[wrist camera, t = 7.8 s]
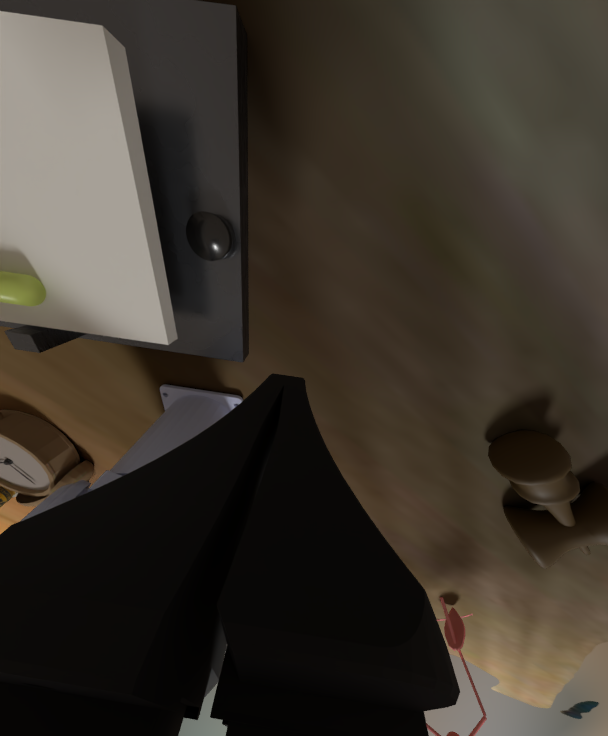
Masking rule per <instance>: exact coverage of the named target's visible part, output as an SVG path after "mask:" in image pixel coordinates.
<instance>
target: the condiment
mask: <svg viewBox="0 0 608 736" xmlns="http://www.w3.org/2000/svg"><path fill="white" fill-rule="evenodd" d="M17 494H18V493H17V492H14V491H11V490H9V489H7V488H5V487H2V486H0V507H1V506H3V505H4V504H5V503H6V502H7V501H9V500H10V499H11V498H12V497H16V496H17Z"/></svg>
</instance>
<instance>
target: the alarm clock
mask: <svg viewBox="0 0 608 736" xmlns="http://www.w3.org/2000/svg"><path fill="white" fill-rule="evenodd" d="M93 471H94V466H93V464H92V463H91V462H89V461H88V460H86V461H84V462H82V463H80V458H79V454H78V453H77V451H76V449H75V447H74V445H73V444H72V443H71V442H70V441H69V440H68V439H67V438H66V436H65V435H64V434H63V433H61V432H60V431H59V430H57V429H56V428H55V427H54V426H52V425H51V424H50V423H48V422H46V421H44V420H42V419H41V418H38V417H36V416H34V415H31V414H27V413H24V412H21V411H15V410H0V486H2V487H5V488H7V489H9V490H11V491H14V492H17V493H18V494H17V497H16V500H17V502H18V503H20V504H22V505H24V506H37V505H39V504H40V503H41V502H42V501H44V500H45V499H46V498H47V497H48V496H50V495H51V494H52V493H53V492H55V491H56V490H57V489H59V488H60V487H62V486H64V485H68V484H72V483H76V482H78V481H80V480H85V481H87V482H89V480H90V478H91V476H92V474H93ZM87 489H89V487H88V488H87Z"/></svg>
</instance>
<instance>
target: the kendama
mask: <svg viewBox="0 0 608 736" xmlns="http://www.w3.org/2000/svg"><path fill="white" fill-rule="evenodd" d="M488 456H489V458H490V461H491V463H492V465H493V467H494V468H495V469H496V470H497V471H498V472H499V473H500V474H501V475H502V476H503V477H505V478H507V479H509V481H510V483H511V485H512V488H513V489H514V490H515V491H516V492H517V493H518V494H519V495H520V496H521V497H522V498H524V499H526V500H528V501H529V502H531V503H534V504H540V505H543V506H544V507H545V508H546V509H547V510H542V511H541V510H528V509H523V508H517V507H511V506H506V507H504V513H505V516H506V518H507V520H508V522H509V523H510V525H511V527H512V529H513V530H514V532H515V534H516V535H517V537H518V538H519V540H520V542H521V543H522V544H523V546H524V547H525V549H526V550H527V551H528V553H529V554H530V556H531V557H532V558H533V559H534V560H535V562H536V563H537V564H538V565H540V566H541V567H542V568H546V569H547V568H549V567H551V566H552V565H553V564H554V563H555V562H556V561H557V560H558V559H559V558H560V557H561V556H562V555H564V554H565V553H566V552H568V551H570V550H573V549H576V548H580V550H581V551H582V552H583V553H584V554H586V555H590V550H589V548H588V546H592V545H608V488H606V487H605V486H603V485H602V484H600V483H598V482H593V483H590V484H589V485H588V486H587V487H586V488H585V489H584V491H583V492H582V493H581V495H580V496H579V497H578V498H577V499H576V500H575V501H574V502H573V503H572V504H570V502H569V501H571V500H573V499H574V498H575V497H576V496H577V495H578V494H579V492H580V487H579V481H578V480H577V478H576V477H575V476H574V474H573V473H572V472H571V471H570V470H571V468H572V464H571V457H570V455H569V454H568V452H567V451H566V450H565V449H564V447H563V446H562V445H561V443H559V442H558V441H556V440H555V439H553V438H552V437H550V436H549V435H546V434H543V433H540V432H537V431H526V430H519V431H515V432H511V433H507V434H505V435H503V436H501V437H499V438H497V439H495V440H494V441H493V442H492V443H491V445H490V446H489V452H488Z"/></svg>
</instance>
